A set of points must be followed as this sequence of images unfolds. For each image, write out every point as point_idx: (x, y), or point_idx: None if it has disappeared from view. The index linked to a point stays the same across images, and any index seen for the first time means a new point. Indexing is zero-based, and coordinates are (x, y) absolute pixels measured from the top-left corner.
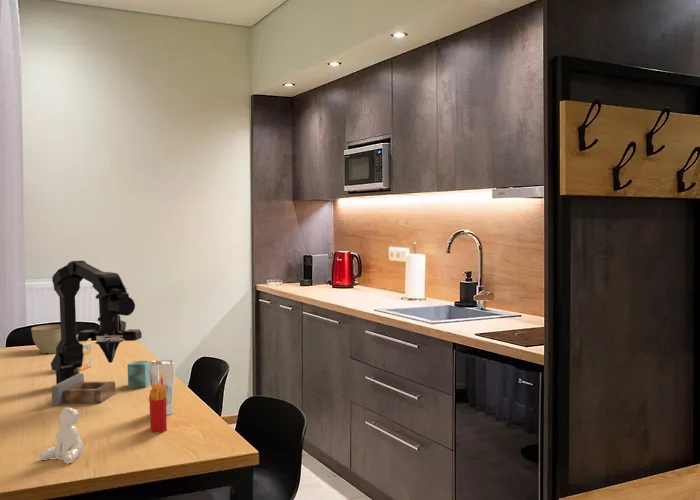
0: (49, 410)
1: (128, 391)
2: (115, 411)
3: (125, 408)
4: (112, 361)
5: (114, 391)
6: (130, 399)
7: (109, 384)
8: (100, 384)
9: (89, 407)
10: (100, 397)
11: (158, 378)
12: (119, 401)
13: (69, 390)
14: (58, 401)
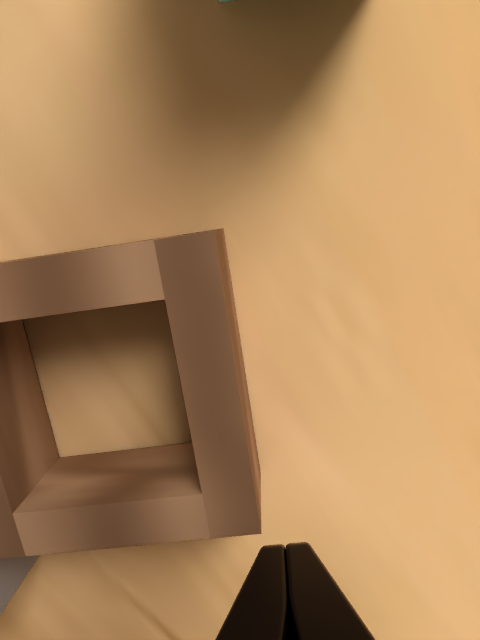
0: (53, 619)
1: (283, 128)
2: (439, 602)
3: (473, 546)
4: (311, 551)
5: (224, 249)
6: (412, 354)
7: (225, 347)
8: (112, 305)
9: (239, 549)
10: (260, 496)
11: None
12: (358, 411)
13: (21, 555)
14: (26, 570)
